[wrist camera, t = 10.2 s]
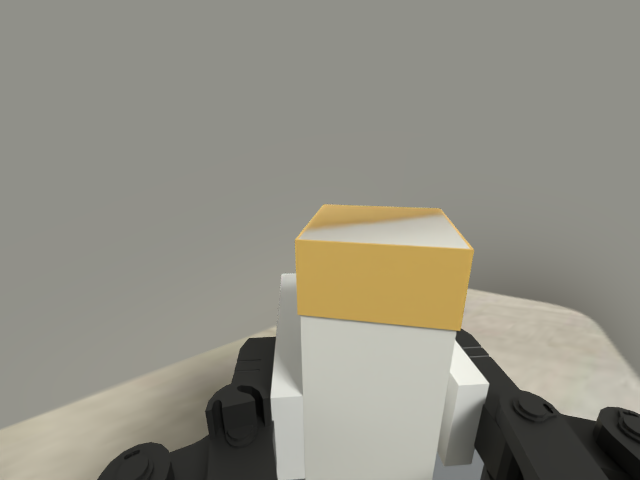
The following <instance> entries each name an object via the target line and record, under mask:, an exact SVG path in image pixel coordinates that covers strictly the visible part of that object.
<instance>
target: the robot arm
mask: <svg viewBox="0 0 640 480" xmlns="http://www.w3.org/2000/svg"><path fill="white" fill-rule="evenodd" d="M205 412H206V418H207V424H208V430H209V435H207V436H206V437H205V438H203V439H202V440H200V441H198V442H196V443H194V444H192V445H189V446H186V447H184V448H181V449H178V450H176V451H173V452H170V453H169V451H168V450H167V449H166V448H165V447H164V446H163V445H162V444H158V443H152V442H149V443H144V444H139V445H136V446H134V447H132V448H130V449H128V450H126V451H124V452H123V453H121V454H120V455H119V456H118V457H116V458H115V459H114V460H113V461H111V462H110V463H109V465H108V466H107V467H106V468H105V470H104V471H103V472H102V473H101V475H100V476H99V478H98V479H97V480H293V479H305V451H304V417H303V383H302V349H301V315H297V285H296V273H293V274H282V276H281V287H280V298H279V310H278V321H277V331H276V337H263V338H249V339H248V340H247V341H246V342H245V344H244V345H243V346H242V347H241V348H240V351H239V355H238V359H237V363H236V367H235V373H234V375H233V379H232V383H231V384H229V385H226V386H225V387H223V388H222V389H220V390H219V391H217V392H216V393H215V394H214V395H213V397H212V398H211V399H210V400H209V402H208V405H207V408H206V411H205ZM475 449H476V451H477V452H478V454H479V456H480V458H481V459H482V461H483V463H484V466H483V470H482V474H481V478H480V480H640V414H638V413H635V412H633V411H630V410H626V409H623V408H619V407H606V408H604V409H601V410H600V413H599V416H598V418H597V421H593V420H588V419H582V418H577V417H572V416H567V415H563V414H560V413H559V412H558V411H557V410H556V409H555V408H554V406H553V405H552V404H550V403H549V402H547V401H546V400H544V399H543V398H541V397H539V396H537V395H535V394H532V393H530V392H527V391H522V390H520V389H519V388H518V387H517V386H516V385H515V384H514V383H513V381H512V380H511V379H510V378H509V377H508V376H507V375H506V374H505V372H504V371H503V370H502V369H501V368H500V367H499V366H498V364H497V363H496V362H495V361H494V360H493V359H492V358H491V357H489V354H488V353H487V352H486V351H485V350H484V349H483V348H481V345H480V344H479V343H478V342H477V341H476V340H475V338H474V337H473V336H472V335H471V334H469V333H468V332H466V331H464V330H463V329H461V330H460V331H456V337H455V343H454V349H453V356H452V362H451V368H450V374H449V380H448V386H447V392H446V398H445V404H444V410H443V416H442V423H441V429H440V435H439V441H438V447H437V452H438V454H439V456H440V459H441V461H442V463H443V465H444V466H455V465H467V464H471V463H472V459H473V454H474V450H475Z"/></svg>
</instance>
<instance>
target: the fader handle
mask: <svg viewBox="0 0 640 480" xmlns="http://www.w3.org/2000/svg"><path fill="white" fill-rule="evenodd" d="M473 253H474V249H473V248H472V247H471V246H470V244H469V243H468V242H467V241H466V240H465V238H464V237H463V236H462V235H461V233H460V232H459V231H458V230H457V228H456V227H455V226H454V225H453V224H452V222H451V221H450V220H449V219H448V217H447V216H446V215H445V214H444V212H443V211H442V210H441V209H440V208H439V209H437V208H411V207H383V206H353V205H323V206H322V207H321V208H320V209H319V211H318V212H317V213H316V215H315V216H314V217H313V218H312V220H311V221H310V222H309V223H308V224H307V226H306V227H305V228H304V229H303V231H302V232H301V233H300V234H299V236H298V237H297V238H296V239H295V254H296V285H297V315H301V349H302V383H303V417H304V451H305V480H432V477H433V471H434V465H435V459H436V453H437V447H438V441H439V435H440V429H441V423H442V416H443V410H444V404H445V398H446V392H447V386H448V380H449V374H450V368H451V362H452V356H453V349H454V343H455V337H456V331H460V330H461V324H462V318H463V312H464V306H465V300H466V295H467V289H468V283H469V276H470V271H471V265H472V259H473Z"/></svg>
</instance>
